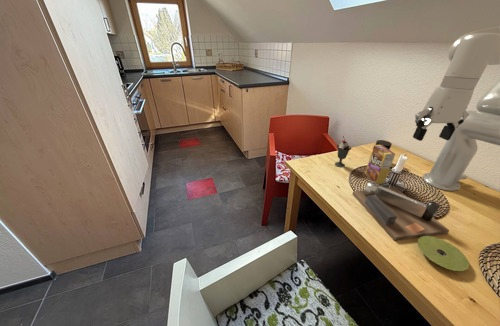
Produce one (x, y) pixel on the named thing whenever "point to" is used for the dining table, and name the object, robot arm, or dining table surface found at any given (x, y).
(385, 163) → the candy box
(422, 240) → the green disc
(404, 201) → the lever
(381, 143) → the supplement container
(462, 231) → the dining table surface
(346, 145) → the sundae
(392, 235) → the nutcracker bench
